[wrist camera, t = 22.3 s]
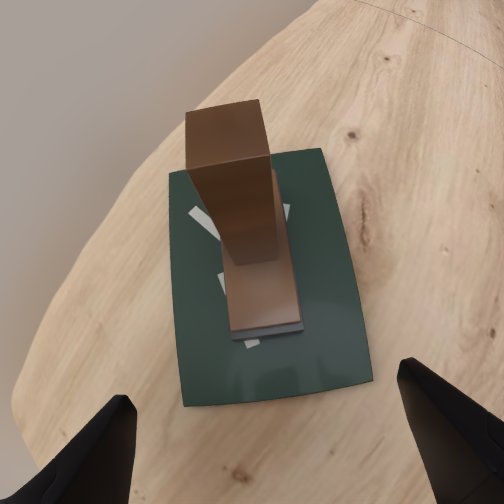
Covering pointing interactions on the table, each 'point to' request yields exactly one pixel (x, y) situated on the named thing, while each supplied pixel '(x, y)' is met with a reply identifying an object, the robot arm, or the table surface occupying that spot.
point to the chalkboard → (310, 291)
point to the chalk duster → (245, 218)
